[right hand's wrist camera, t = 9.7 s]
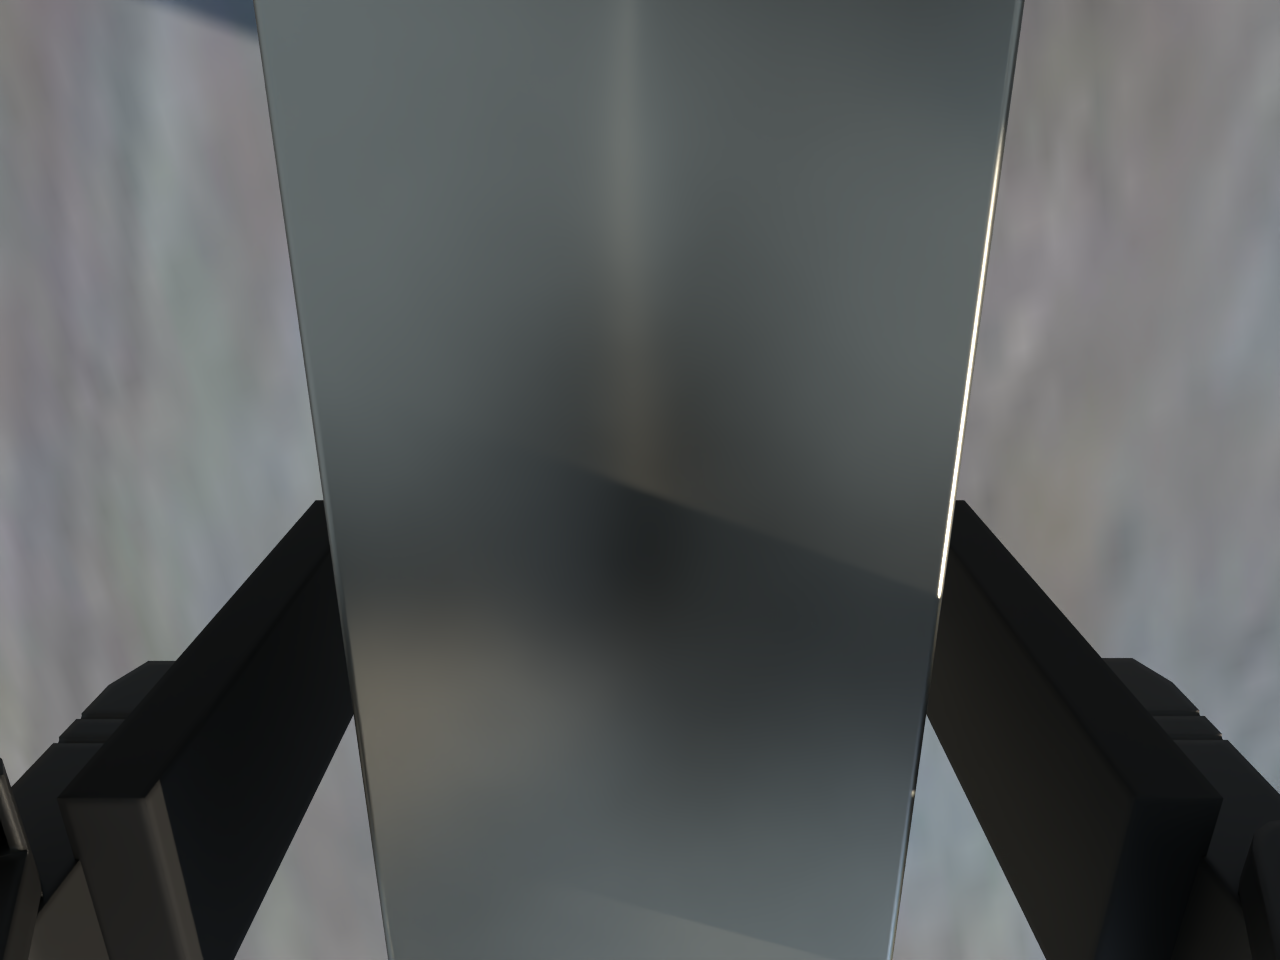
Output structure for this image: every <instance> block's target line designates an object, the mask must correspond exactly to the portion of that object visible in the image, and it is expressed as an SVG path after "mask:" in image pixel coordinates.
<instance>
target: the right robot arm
mask: <svg viewBox="0 0 1280 960" xmlns="http://www.w3.org/2000/svg"><path fill="white" fill-rule="evenodd" d="M353 714H354V713H353V706H352V699H351V692H350V684H349V677H348V670H347V663H346V656H345V649H344V642H343V635H342V628H341V621H340V613H339V606H338V599H337V592H336V585H335V578H334V571H333V564H332V557H331V550H330V542H329V535H328V528H327V521H326V514H325V507H324V500H316V501H315V502H314V503H313V504H312V505H311V506H310V507H309V509H308V510H307V511H306V512H305V513H304V514H303V516H302V517H301V518H300V519H299V520H298V521H297V522H296V524H295V525H294V526H293V527H292V528H291V529H290V530H289V532H288V533H287V534H286V535H285V536H284V537H283V539H282V540H281V541H280V542H279V543H278V544H277V545H276V547H275V548H274V549H273V550H272V551H271V552H270V553H269V555H268V556H267V557H266V558H265V559H264V560H263V561H262V563H261V564H260V565H259V566H258V567H257V568H256V570H255V571H254V572H253V573H252V574H251V575H250V576H249V578H248V579H247V580H246V581H245V582H244V583H243V584H242V586H241V587H240V588H239V589H238V590H237V591H236V593H235V594H234V595H233V596H232V597H231V598H230V599H229V601H228V602H227V603H226V604H225V605H224V606H223V607H222V609H221V610H220V611H219V612H218V613H217V614H216V615H215V617H214V618H213V619H212V620H211V621H210V622H209V624H208V625H207V626H206V627H205V628H204V629H203V630H202V632H201V633H200V634H199V635H198V636H197V637H196V638H195V640H194V641H193V642H192V643H191V644H190V645H189V647H188V648H187V649H186V650H185V651H184V652H183V653H182V655H181V656H180V657H179V658H178V659H177V660H176V661H148V662H146V663H144V664H143V665H141V666H139V667H138V668H136V669H134V670H133V671H131V672H129V673H128V674H126V675H125V676H123V677H121V678H120V679H118V680H116V681H115V682H113V683H111V684H110V685H108V686H107V687H106V688H105V690H104V691H103V692H102V693H101V694H100V695H99V696H98V697H97V698H96V699H95V700H94V701H93V702H92V703H91V704H90V705H89V706H88V707H87V708H86V709H85V711H84V712H83V713H82V717H81V719H76V720H75V721H74V722H73V723H72V724H71V725H70V726H69V727H68V728H67V729H66V730H65V731H64V733H63V734H62V735H61V736H60V737H59V742H58V743H53V744H52V745H51V746H50V747H49V748H48V749H47V750H46V751H45V752H44V754H43V755H42V756H41V757H40V758H39V759H38V760H37V761H36V762H35V763H34V764H33V765H32V766H31V767H30V768H29V769H28V770H27V771H26V772H25V773H24V775H23V776H22V777H21V778H20V779H19V780H18V781H17V782H16V783H15V784H14V785H13V786H12V787H11V786H10V783H9V779H8V776H7V773H6V770H5V767H4V764H3V761H2V759H1V758H0V960H234V958H235V956H236V954H237V952H238V950H239V948H240V946H241V944H242V942H243V940H244V938H245V936H246V933H247V931H248V929H249V927H250V925H251V923H252V921H253V919H254V917H255V915H256V913H257V911H258V909H259V907H260V905H261V903H262V901H263V899H264V897H265V895H266V893H267V890H268V888H269V886H270V884H271V882H272V880H273V878H274V876H275V874H276V872H277V870H278V868H279V866H280V864H281V862H282V860H283V858H284V856H285V854H286V852H287V850H288V847H289V845H290V843H291V841H292V839H293V837H294V835H295V833H296V831H297V829H298V827H299V825H300V823H301V821H302V819H303V817H304V815H305V813H306V811H307V809H308V807H309V804H310V802H311V800H312V798H313V796H314V794H315V792H316V790H317V788H318V786H319V784H320V782H321V780H322V778H323V776H324V774H325V772H326V770H327V768H328V766H329V764H330V761H331V759H332V757H333V755H334V753H335V751H336V749H337V747H338V745H339V743H340V741H341V739H342V737H343V735H344V733H345V731H346V729H347V727H348V725H349V723H350V721H351V718H352V716H353ZM926 714H927V716H928V718H929V720H930V723H931V725H932V727H933V729H934V731H935V733H936V735H937V737H938V739H939V741H940V743H941V745H942V747H943V749H944V751H945V753H946V755H947V757H948V759H949V761H950V763H951V766H952V768H953V770H954V772H955V774H956V776H957V778H958V780H959V782H960V784H961V786H962V788H963V790H964V792H965V794H966V796H967V798H968V800H969V802H970V804H971V806H972V809H973V811H974V813H975V815H976V817H977V819H978V821H979V823H980V825H981V827H982V829H983V831H984V833H985V835H986V837H987V839H988V841H989V843H990V845H991V847H992V849H993V852H994V854H995V856H996V858H997V860H998V862H999V864H1000V866H1001V868H1002V870H1003V872H1004V874H1005V876H1006V878H1007V880H1008V882H1009V884H1010V886H1011V888H1012V890H1013V892H1014V895H1015V897H1016V899H1017V901H1018V903H1019V905H1020V907H1021V909H1022V911H1023V913H1024V915H1025V917H1026V919H1027V921H1028V923H1029V925H1030V927H1031V929H1032V931H1033V933H1034V935H1035V938H1036V940H1037V942H1038V944H1039V946H1040V948H1041V950H1042V952H1043V954H1044V956H1045V958H1046V960H1280V794H1279V793H1278V792H1277V791H1276V790H1275V789H1274V788H1273V787H1272V786H1271V785H1270V784H1269V783H1268V782H1267V781H1266V780H1265V778H1264V777H1263V776H1262V775H1261V774H1260V773H1259V772H1258V771H1257V770H1256V769H1255V768H1254V767H1253V766H1252V765H1251V764H1250V763H1249V762H1248V761H1247V760H1246V759H1245V758H1244V757H1243V756H1242V755H1241V753H1240V752H1239V751H1238V750H1237V749H1236V748H1235V747H1234V746H1233V745H1232V744H1231V743H1230V742H1229V741H1228V740H1223V739H1222V734H1221V733H1220V732H1219V731H1218V730H1217V728H1216V727H1215V726H1214V725H1213V724H1212V723H1211V722H1210V721H1209V720H1208V719H1207V718H1206V717H1205V716H1200V715H1199V710H1198V709H1197V708H1196V707H1195V706H1194V704H1193V703H1192V702H1191V701H1190V700H1189V699H1188V698H1187V697H1186V696H1185V695H1184V694H1183V693H1182V692H1181V691H1180V690H1179V689H1178V688H1177V687H1176V686H1175V685H1174V684H1173V683H1172V682H1171V681H1169V680H1168V679H1166V678H1164V677H1163V676H1161V675H1159V674H1158V673H1156V672H1154V671H1153V670H1151V669H1149V668H1148V667H1146V666H1144V665H1143V664H1141V663H1140V662H1138V661H1136V660H1135V659H1133V658H1101V657H1100V656H1099V655H1098V653H1097V652H1096V651H1095V650H1094V649H1093V648H1092V647H1091V645H1090V644H1089V643H1088V642H1087V641H1086V640H1085V638H1084V637H1083V636H1082V635H1081V634H1080V633H1079V632H1078V630H1077V629H1076V628H1075V627H1074V626H1073V625H1072V624H1071V622H1070V621H1069V620H1068V619H1067V618H1066V617H1065V615H1064V614H1063V613H1062V612H1061V611H1060V610H1059V609H1058V607H1057V606H1056V605H1055V604H1054V603H1053V602H1052V601H1051V599H1050V598H1049V597H1048V596H1047V595H1046V594H1045V592H1044V591H1043V590H1042V589H1041V588H1040V587H1039V586H1038V584H1037V583H1036V582H1035V581H1034V580H1033V579H1032V578H1031V576H1030V575H1029V574H1028V573H1027V572H1026V571H1025V570H1024V568H1023V567H1022V566H1021V565H1020V564H1019V563H1018V561H1017V560H1016V559H1015V558H1014V557H1013V556H1012V555H1011V553H1010V552H1009V551H1008V550H1007V549H1006V548H1005V547H1004V545H1003V544H1002V543H1001V542H1000V541H999V540H998V538H997V537H996V536H995V535H994V534H993V533H992V532H991V530H990V529H989V528H988V527H987V526H986V525H985V524H984V522H983V521H982V520H981V519H980V518H979V517H978V516H977V514H976V513H975V512H974V511H973V510H972V509H971V507H970V506H969V505H968V504H967V503H966V502H965V501H964V500H956V501H955V509H954V516H953V523H952V530H951V538H950V545H949V552H948V559H947V567H946V574H945V581H944V588H943V595H942V603H941V610H940V617H939V624H938V632H937V639H936V646H935V653H934V661H933V668H932V675H931V682H930V690H929V697H928V704H927V711H926Z"/></svg>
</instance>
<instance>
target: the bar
mask: <svg viewBox="0 0 1280 960" xmlns="http://www.w3.org/2000/svg"><path fill="white" fill-rule="evenodd" d="M1024 1H1025V0H253V3H254V10H255V17H256V24H257V31H258V38H259V45H260V53H261V60H262V67H263V74H264V81H265V88H266V95H267V102H268V109H269V116H270V124H271V131H272V138H273V145H274V152H275V159H276V166H277V173H278V180H279V187H280V195H281V202H282V209H283V216H284V223H285V230H286V237H287V244H288V251H289V258H290V266H291V273H292V280H293V287H294V294H295V301H296V308H297V315H298V322H299V329H300V337H301V344H302V351H303V358H304V365H305V372H306V379H307V386H308V393H309V400H310V408H311V415H312V422H313V429H314V436H315V443H316V450H317V457H318V464H319V471H320V479H321V486H322V493H323V500H324V507H325V514H326V521H327V528H328V535H329V542H330V550H331V557H332V564H333V571H334V578H335V585H336V592H337V599H338V606H339V613H340V621H341V628H342V635H343V642H344V649H345V656H346V663H347V670H348V677H349V684H350V692H351V699H352V706H353V713H354V720H355V727H356V734H357V741H358V748H359V755H360V763H361V770H362V777H363V784H364V791H365V798H366V805H367V812H368V819H369V826H370V833H371V841H372V848H373V855H374V862H375V869H376V876H377V883H378V890H379V897H380V904H381V912H382V919H383V926H384V933H385V940H386V947H387V954H388V960H892V958H893V951H894V943H895V936H896V929H897V922H898V914H899V907H900V900H901V893H902V885H903V878H904V871H905V864H906V856H907V849H908V842H909V835H910V827H911V820H912V813H913V806H914V798H915V791H916V784H917V777H918V769H919V762H920V755H921V748H922V740H923V733H924V726H925V719H926V711H927V704H928V697H929V690H930V682H931V675H932V668H933V661H934V653H935V646H936V639H937V632H938V624H939V617H940V610H941V603H942V595H943V588H944V581H945V574H946V567H947V559H948V552H949V545H950V538H951V530H952V523H953V516H954V509H955V501H956V494H957V487H958V480H959V472H960V465H961V458H962V451H963V443H964V436H965V429H966V422H967V414H968V407H969V400H970V393H971V385H972V378H973V371H974V364H975V356H976V349H977V342H978V335H979V327H980V320H981V313H982V306H983V298H984V291H985V284H986V277H987V269H988V262H989V255H990V248H991V240H992V233H993V226H994V219H995V211H996V204H997V197H998V190H999V182H1000V175H1001V168H1002V161H1003V153H1004V146H1005V139H1006V132H1007V124H1008V117H1009V110H1010V103H1011V95H1012V88H1013V81H1014V74H1015V66H1016V59H1017V52H1018V45H1019V37H1020V30H1021V23H1022V16H1023V8H1024Z"/></svg>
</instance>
